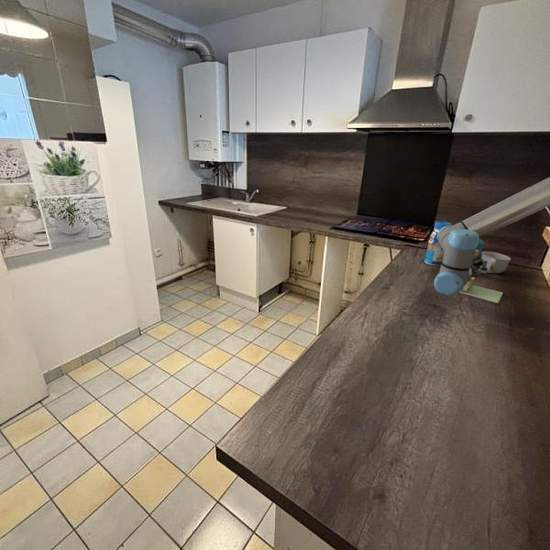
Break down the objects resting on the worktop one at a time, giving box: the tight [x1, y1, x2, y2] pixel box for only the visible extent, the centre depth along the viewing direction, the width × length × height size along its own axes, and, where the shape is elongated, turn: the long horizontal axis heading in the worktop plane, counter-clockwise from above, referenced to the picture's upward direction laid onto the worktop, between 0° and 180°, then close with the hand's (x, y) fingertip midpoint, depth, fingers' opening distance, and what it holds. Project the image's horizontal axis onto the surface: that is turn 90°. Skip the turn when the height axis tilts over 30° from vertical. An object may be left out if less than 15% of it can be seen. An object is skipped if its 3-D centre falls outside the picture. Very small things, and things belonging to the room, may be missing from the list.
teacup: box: [480, 251, 512, 275], centre depth 131 cm, size 14×11×8 cm
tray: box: [459, 284, 504, 304], centre depth 112 cm, size 18×12×1 cm, turn 47°
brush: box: [461, 250, 479, 292], centre depth 111 cm, size 4×10×15 cm, turn 135°
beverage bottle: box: [423, 221, 452, 267], centre depth 138 cm, size 8×8×20 cm
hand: (474, 256), depth 113 cm, fingers closed on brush, 3 cm apart
